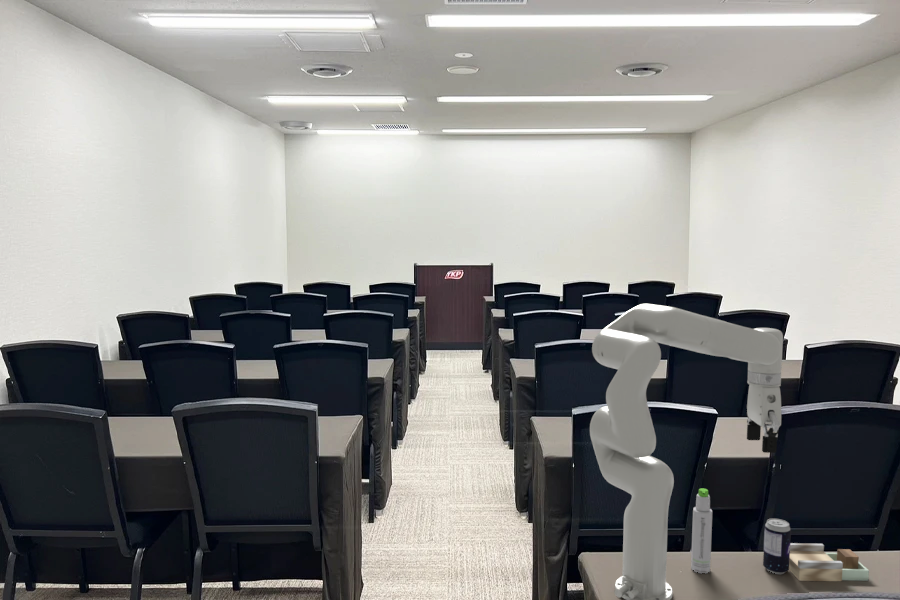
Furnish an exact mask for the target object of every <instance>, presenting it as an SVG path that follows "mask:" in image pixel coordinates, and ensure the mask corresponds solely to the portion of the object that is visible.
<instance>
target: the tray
mask: <svg viewBox="0 0 900 600" xmlns="http://www.w3.org/2000/svg"><path fill="white" fill-rule="evenodd" d="M825 553H826V554H827V555H828V556H829V557H830V558H831V559H832V560H833V561H837V552H825ZM869 576H870V570H869V569H868V567H866V566H864V565H863V563H861V562H860V561H858V569H842V581H863V582H864V581H869V579H870V578H869Z"/></svg>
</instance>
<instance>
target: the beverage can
mask: <svg viewBox="0 0 900 600" xmlns="http://www.w3.org/2000/svg"><path fill="white" fill-rule="evenodd" d="M791 536H792V528H791V526H790V523H789V522H788V521H786V520H784V519H780V518H775V517H774V518H769V519H767V520H766V523H765V524H764V535H763V556H762V557H763V558H762V566H763V567H764V568H765V569H766V571H768V572H769V571H770V572H769V573H771V572H772V573H771V574H774V573H775V574H774V575H784V574H786V573H787V572H788V571H790V570H789V557H790V543H791Z"/></svg>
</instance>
